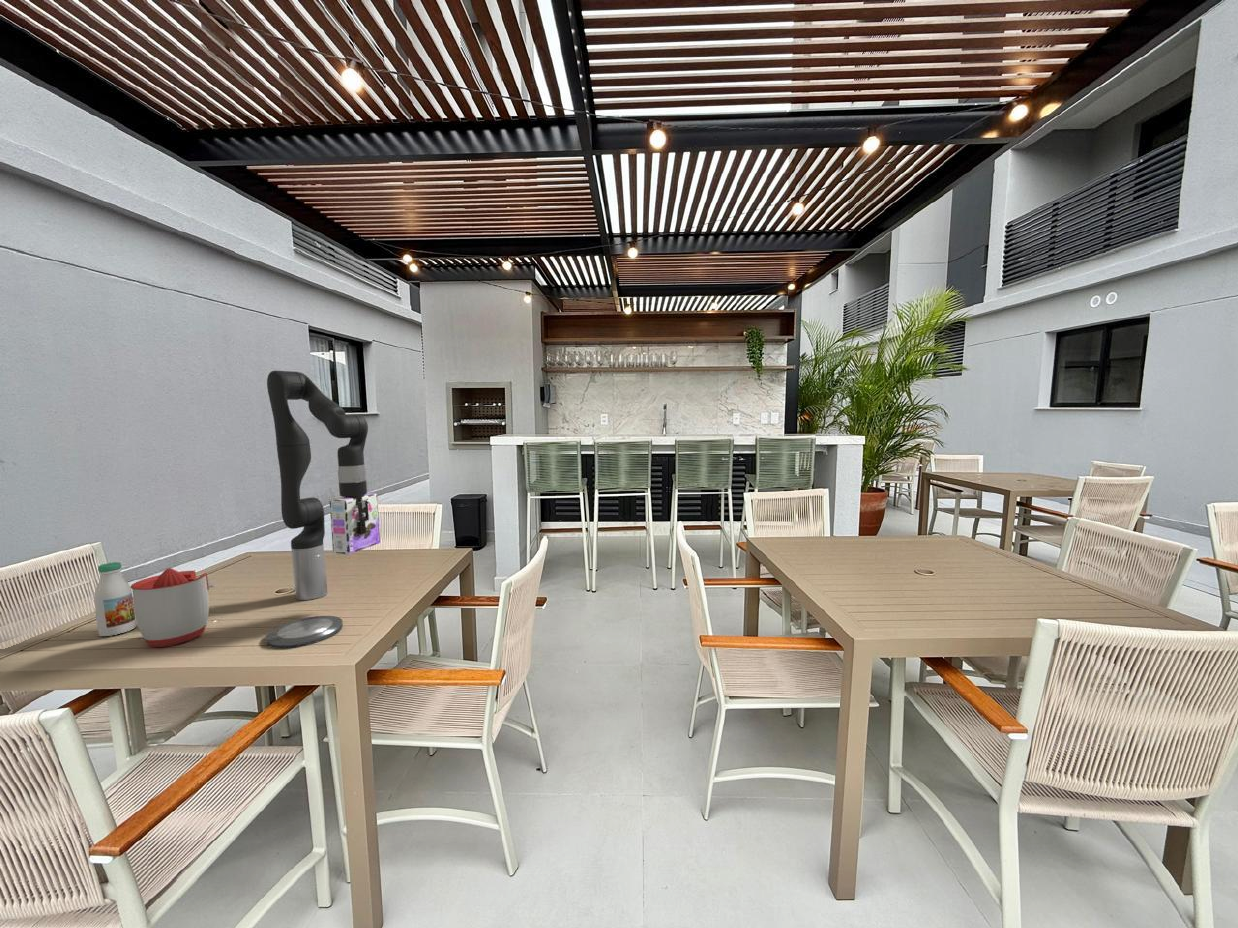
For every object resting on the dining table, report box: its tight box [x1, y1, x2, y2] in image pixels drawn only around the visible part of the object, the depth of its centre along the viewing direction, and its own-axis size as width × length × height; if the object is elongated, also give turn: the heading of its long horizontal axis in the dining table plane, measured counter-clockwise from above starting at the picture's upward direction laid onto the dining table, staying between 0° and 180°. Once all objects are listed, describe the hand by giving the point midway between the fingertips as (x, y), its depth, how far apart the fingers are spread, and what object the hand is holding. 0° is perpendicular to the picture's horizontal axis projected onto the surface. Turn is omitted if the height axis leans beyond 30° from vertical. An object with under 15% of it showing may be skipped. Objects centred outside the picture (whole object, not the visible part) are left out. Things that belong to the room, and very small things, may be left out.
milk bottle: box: [93, 562, 137, 637], centre depth 143 cm, size 8×8×20 cm
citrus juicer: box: [130, 567, 215, 648], centre depth 139 cm, size 16×17×20 cm
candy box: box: [329, 492, 381, 555], centre depth 155 cm, size 14×6×16 cm, turn 166°
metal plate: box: [265, 615, 344, 649], centre depth 140 cm, size 18×18×2 cm
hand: (356, 532), depth 156 cm, fingers closed on candy box, 7 cm apart
